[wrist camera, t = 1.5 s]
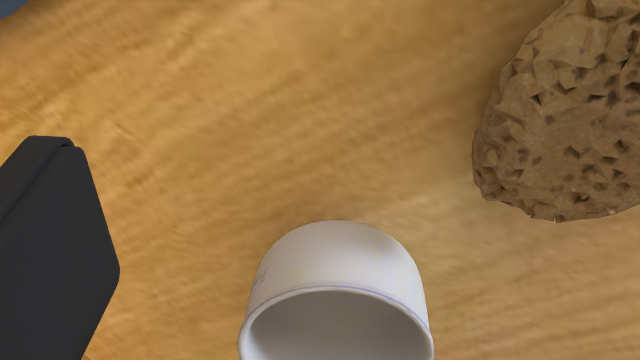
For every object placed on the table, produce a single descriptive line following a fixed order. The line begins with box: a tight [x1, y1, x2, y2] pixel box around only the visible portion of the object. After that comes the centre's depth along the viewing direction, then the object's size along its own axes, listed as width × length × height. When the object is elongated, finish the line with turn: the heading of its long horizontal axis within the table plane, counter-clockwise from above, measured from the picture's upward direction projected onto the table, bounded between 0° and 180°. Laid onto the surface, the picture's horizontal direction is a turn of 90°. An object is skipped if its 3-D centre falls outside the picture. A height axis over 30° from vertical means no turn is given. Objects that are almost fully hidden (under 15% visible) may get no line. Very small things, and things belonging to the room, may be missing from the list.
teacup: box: [238, 220, 434, 360], centre depth 37 cm, size 14×11×8 cm
